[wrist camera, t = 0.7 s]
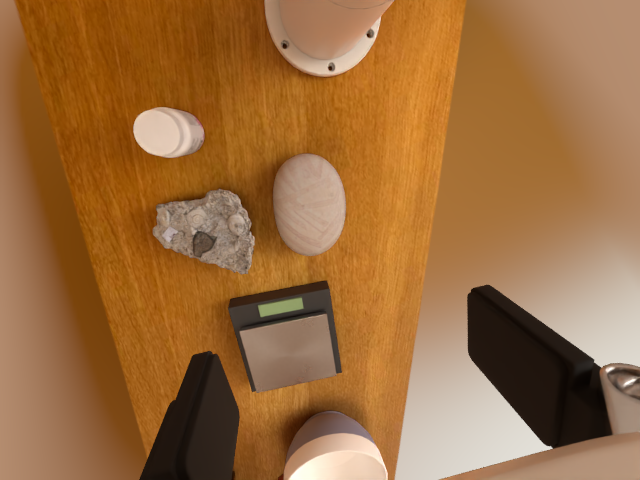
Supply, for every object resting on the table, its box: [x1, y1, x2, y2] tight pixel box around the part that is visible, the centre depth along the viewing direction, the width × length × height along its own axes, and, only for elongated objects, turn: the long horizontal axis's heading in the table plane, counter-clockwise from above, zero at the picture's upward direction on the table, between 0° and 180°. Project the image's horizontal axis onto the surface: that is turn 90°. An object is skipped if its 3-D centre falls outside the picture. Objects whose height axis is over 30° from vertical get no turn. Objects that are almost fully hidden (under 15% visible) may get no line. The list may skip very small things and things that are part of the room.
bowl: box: [283, 411, 388, 480], centre depth 49 cm, size 16×16×10 cm
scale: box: [228, 281, 342, 392], centre depth 45 cm, size 15×14×3 cm
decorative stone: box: [273, 154, 346, 256], centre depth 37 cm, size 13×9×5 cm
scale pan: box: [239, 311, 336, 393], centre depth 43 cm, size 11×12×1 cm
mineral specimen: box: [153, 189, 255, 274], centre depth 36 cm, size 6×11×12 cm
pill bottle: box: [133, 107, 204, 158], centre depth 31 cm, size 5×5×8 cm
